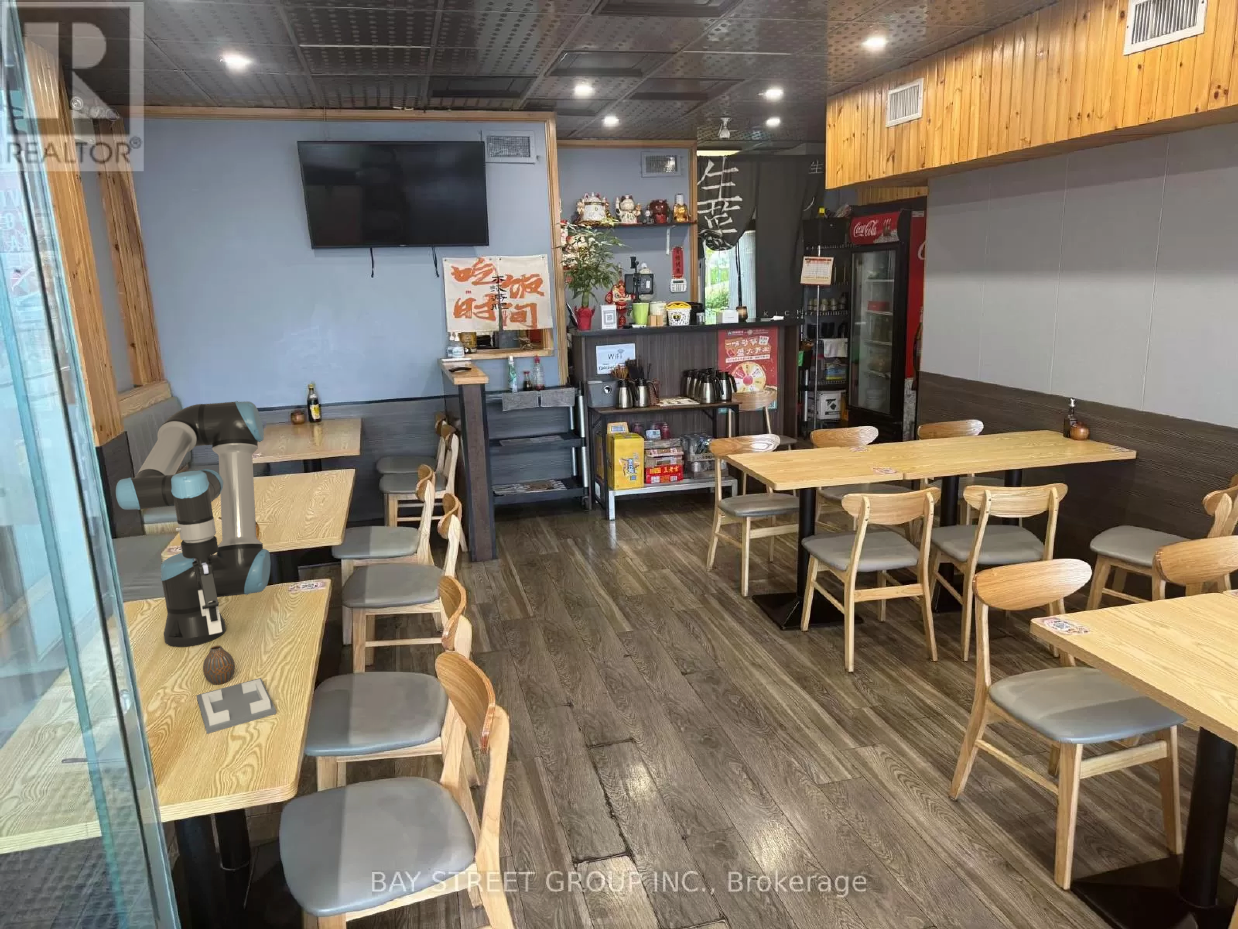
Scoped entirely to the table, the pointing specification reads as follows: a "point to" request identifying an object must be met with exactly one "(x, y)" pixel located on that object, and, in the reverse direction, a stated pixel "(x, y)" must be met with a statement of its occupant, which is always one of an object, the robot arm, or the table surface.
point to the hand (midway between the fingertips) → (211, 623)
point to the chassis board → (235, 705)
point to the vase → (218, 666)
